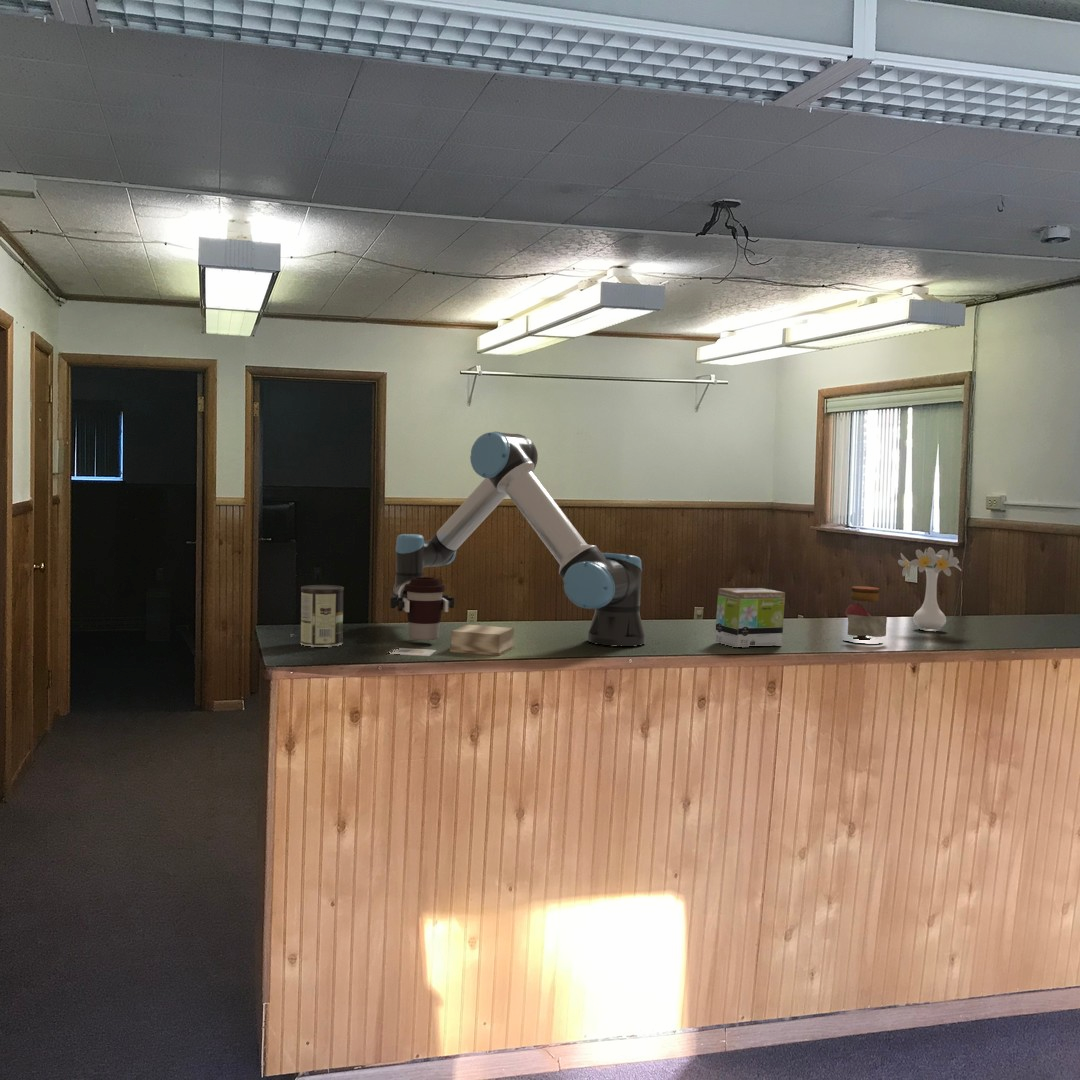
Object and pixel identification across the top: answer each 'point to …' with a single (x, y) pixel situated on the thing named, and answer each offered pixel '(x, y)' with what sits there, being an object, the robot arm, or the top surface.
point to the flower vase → (930, 584)
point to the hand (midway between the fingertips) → (427, 606)
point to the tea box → (749, 617)
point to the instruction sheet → (413, 652)
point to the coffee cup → (424, 607)
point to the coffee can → (322, 615)
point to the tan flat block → (482, 640)
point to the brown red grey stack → (864, 615)
